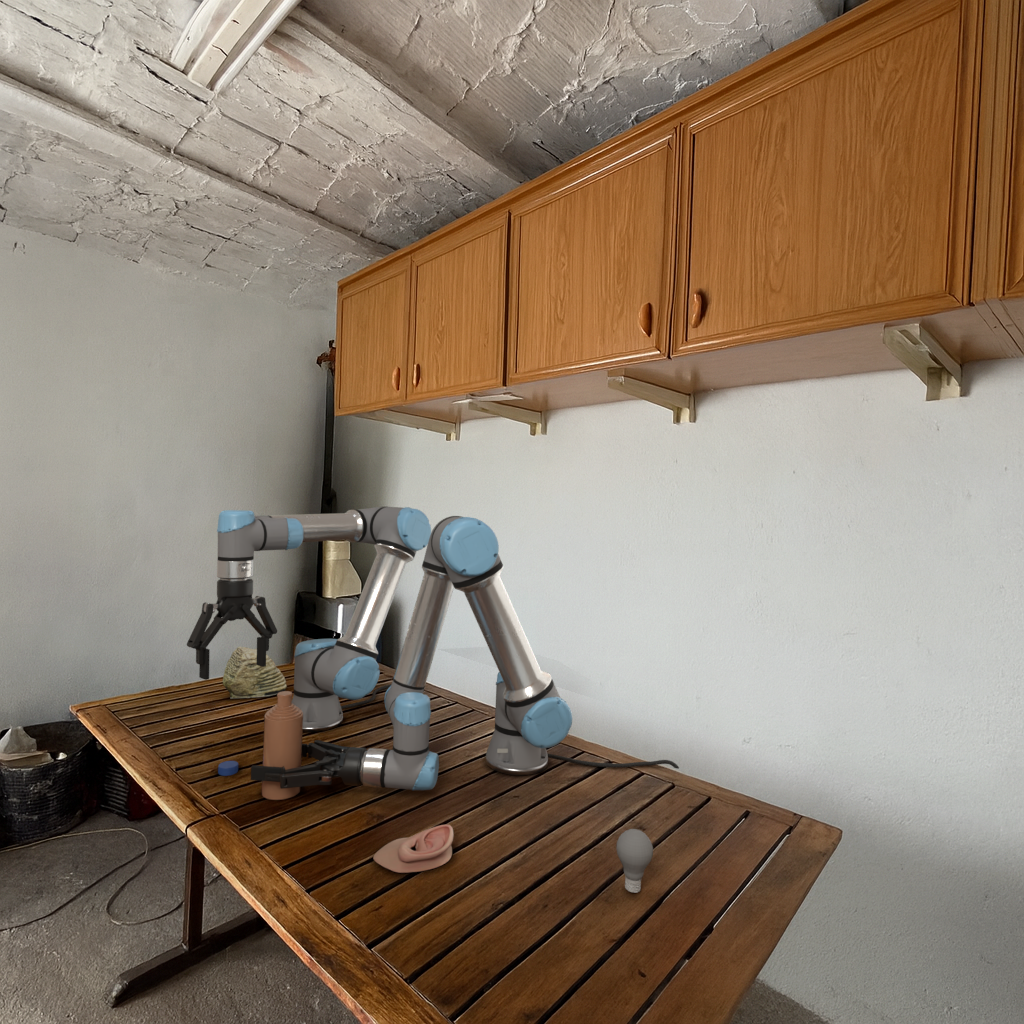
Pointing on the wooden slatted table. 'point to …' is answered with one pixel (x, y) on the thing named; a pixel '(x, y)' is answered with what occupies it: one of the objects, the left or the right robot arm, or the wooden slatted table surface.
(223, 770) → the cap
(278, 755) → the bottle
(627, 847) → the light bulb
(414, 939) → the wooden slatted table surface
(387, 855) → the anatomical model
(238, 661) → the fossil
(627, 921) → the wooden slatted table surface
